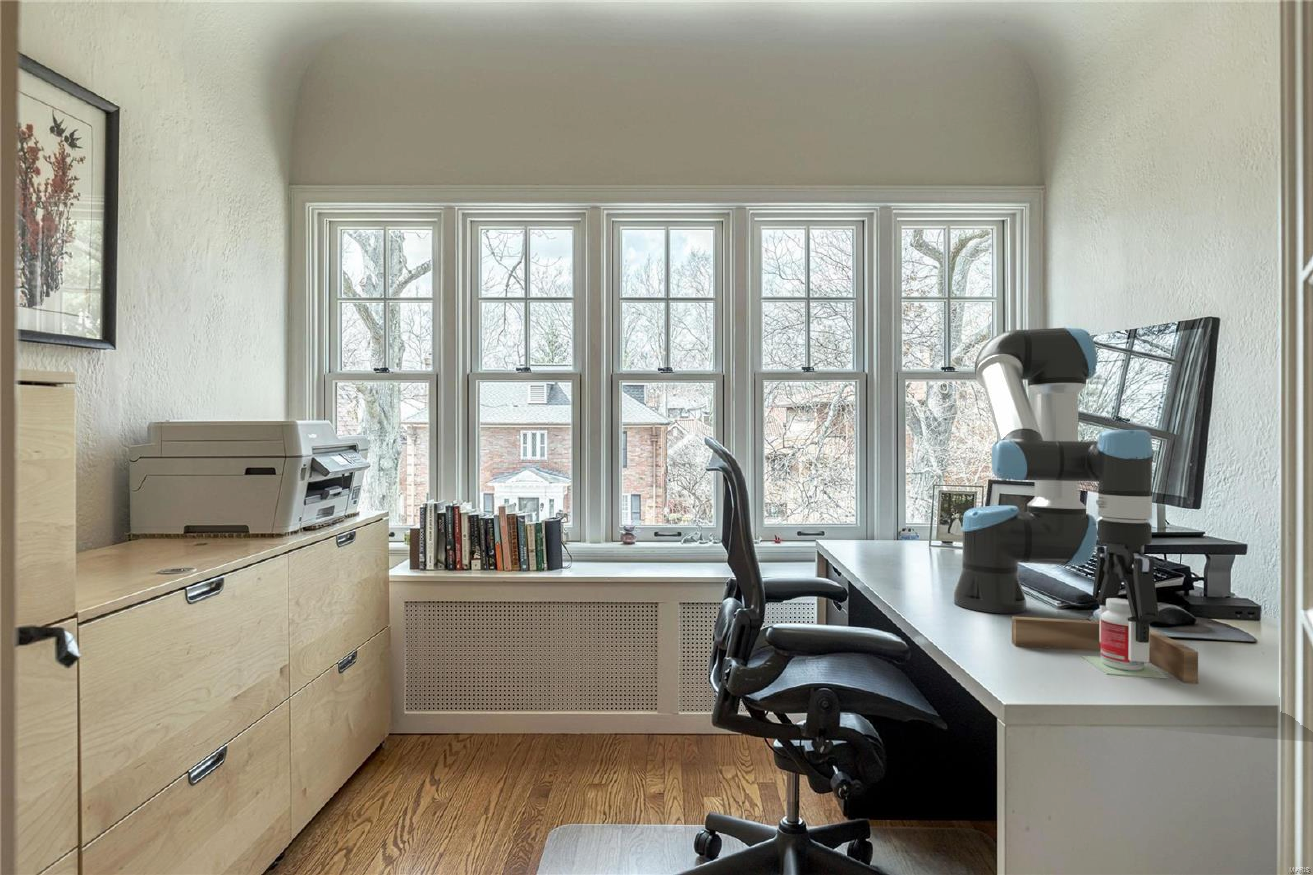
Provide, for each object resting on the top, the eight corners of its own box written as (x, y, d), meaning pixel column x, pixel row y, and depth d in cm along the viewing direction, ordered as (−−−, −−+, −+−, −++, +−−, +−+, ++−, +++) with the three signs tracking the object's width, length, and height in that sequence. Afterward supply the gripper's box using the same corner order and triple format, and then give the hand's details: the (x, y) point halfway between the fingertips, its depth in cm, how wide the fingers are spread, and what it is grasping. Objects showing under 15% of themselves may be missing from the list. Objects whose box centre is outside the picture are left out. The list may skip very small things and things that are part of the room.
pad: (1081, 657, 118) (1082, 655, 118) (1137, 660, 117) (1137, 659, 117) (1107, 674, 109) (1107, 673, 109) (1167, 678, 108) (1167, 677, 108)
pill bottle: (1135, 674, 109) (1135, 607, 109) (1094, 663, 114) (1094, 599, 114) (1150, 667, 112) (1151, 602, 112) (1110, 657, 118) (1110, 595, 118)
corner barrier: (1011, 642, 126) (1012, 616, 126) (1139, 650, 123) (1140, 623, 123) (1048, 673, 110) (1048, 643, 110) (1197, 683, 106) (1198, 652, 106)
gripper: (1071, 512, 125) (1070, 632, 124) (1134, 527, 103) (1133, 671, 103) (1115, 513, 123) (1114, 634, 123) (1188, 528, 102) (1187, 675, 102)
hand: (1123, 651), depth 113 cm, fingers open, 9 cm apart
